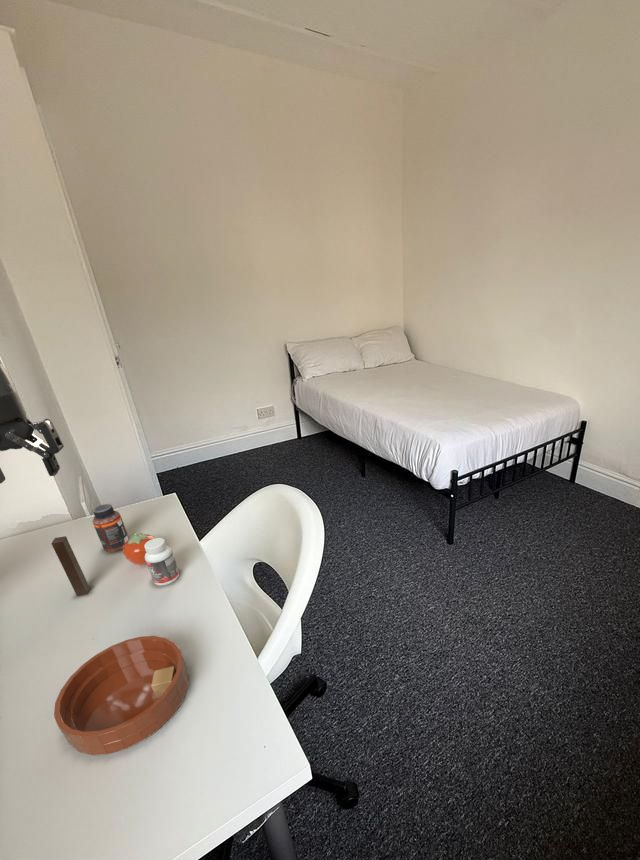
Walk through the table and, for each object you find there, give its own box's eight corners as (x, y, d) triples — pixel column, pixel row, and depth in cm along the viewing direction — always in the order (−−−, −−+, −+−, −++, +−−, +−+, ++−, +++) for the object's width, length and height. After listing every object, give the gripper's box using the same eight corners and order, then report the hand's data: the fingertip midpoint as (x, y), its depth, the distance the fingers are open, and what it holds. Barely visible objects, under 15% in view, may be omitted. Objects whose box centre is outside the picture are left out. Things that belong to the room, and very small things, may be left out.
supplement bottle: (136, 542, 107) (122, 504, 102) (114, 555, 102) (98, 516, 97) (120, 537, 109) (106, 499, 104) (98, 549, 104) (82, 511, 99)
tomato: (131, 554, 102) (121, 527, 98) (164, 548, 104) (155, 521, 100) (124, 573, 96) (113, 545, 92) (159, 566, 98) (149, 538, 94)
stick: (76, 596, 89) (50, 543, 83) (79, 590, 91) (54, 537, 85) (87, 594, 90) (62, 541, 83) (90, 588, 92) (65, 535, 85)
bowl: (48, 774, 57) (33, 753, 55) (87, 671, 72) (76, 651, 70) (183, 734, 62) (174, 713, 59) (194, 645, 77) (187, 625, 74)
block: (156, 698, 67) (150, 686, 65) (159, 682, 69) (154, 670, 68) (176, 693, 67) (171, 680, 66) (178, 677, 70) (174, 665, 68)
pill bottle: (148, 586, 92) (134, 550, 87) (162, 570, 96) (149, 535, 92) (171, 586, 91) (159, 550, 87) (184, 570, 96) (173, 535, 91)
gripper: (44, 383, 75) (78, 464, 82) (-52, 391, 71) (-8, 476, 79) (26, 393, 69) (64, 480, 76) (-80, 403, 65) (-29, 494, 72)
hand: (27, 478), depth 77 cm, fingers open, 8 cm apart
